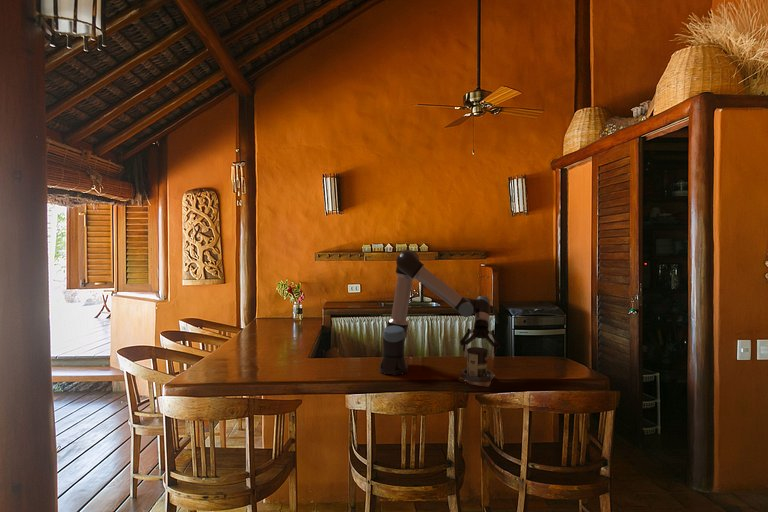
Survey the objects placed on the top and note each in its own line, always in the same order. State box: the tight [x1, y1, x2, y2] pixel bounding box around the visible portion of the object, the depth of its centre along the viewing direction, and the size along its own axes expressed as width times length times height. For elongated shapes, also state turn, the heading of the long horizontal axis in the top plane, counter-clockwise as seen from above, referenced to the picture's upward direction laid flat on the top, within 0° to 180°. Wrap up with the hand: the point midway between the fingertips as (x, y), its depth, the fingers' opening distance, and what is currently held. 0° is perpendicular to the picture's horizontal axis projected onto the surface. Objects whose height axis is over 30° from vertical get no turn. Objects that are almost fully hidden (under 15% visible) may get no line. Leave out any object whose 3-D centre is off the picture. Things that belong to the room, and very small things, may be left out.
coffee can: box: [466, 346, 489, 377], centre depth 241 cm, size 10×10×14 cm
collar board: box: [459, 367, 496, 388], centre depth 241 cm, size 15×15×4 cm
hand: (478, 358), depth 241 cm, fingers open, 13 cm apart
